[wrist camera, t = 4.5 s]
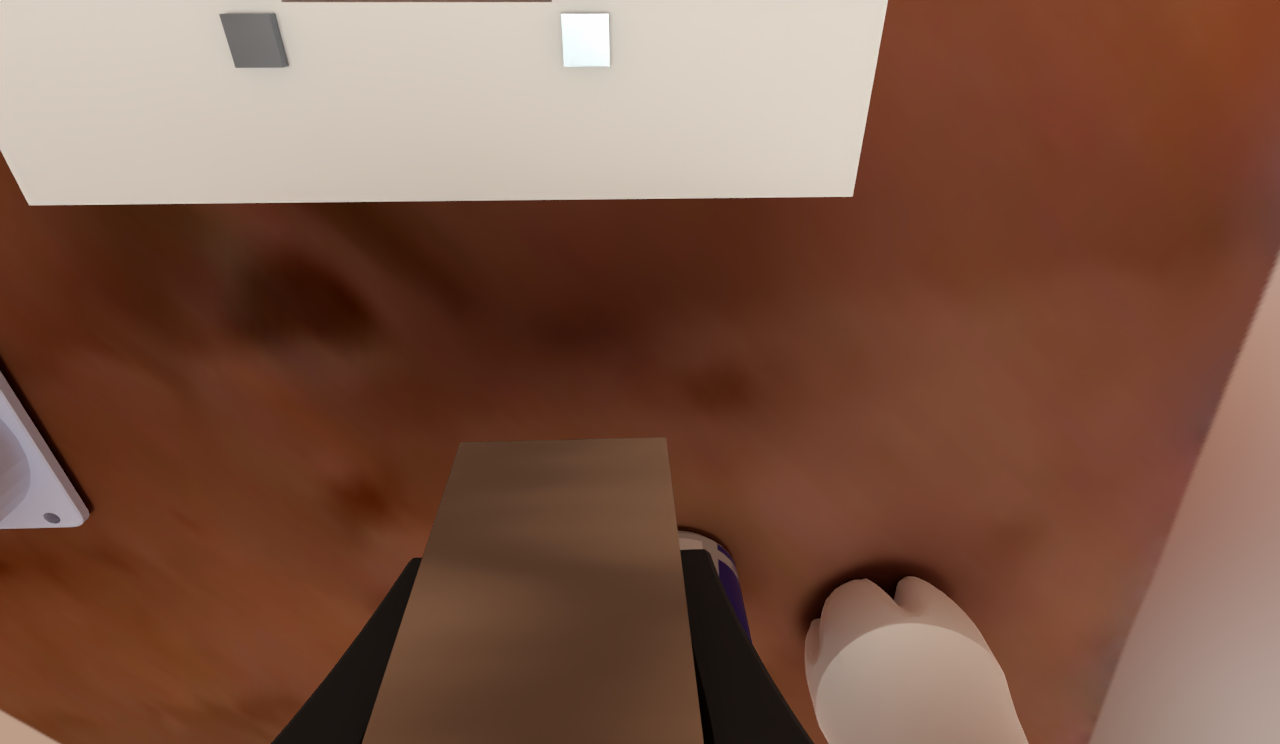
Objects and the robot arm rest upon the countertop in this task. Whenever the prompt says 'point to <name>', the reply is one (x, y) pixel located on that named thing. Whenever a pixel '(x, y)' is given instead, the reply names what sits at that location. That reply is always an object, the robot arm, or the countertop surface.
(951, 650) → the water bottle
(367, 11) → the hole board
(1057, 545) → the countertop surface
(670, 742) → the walnut peg
